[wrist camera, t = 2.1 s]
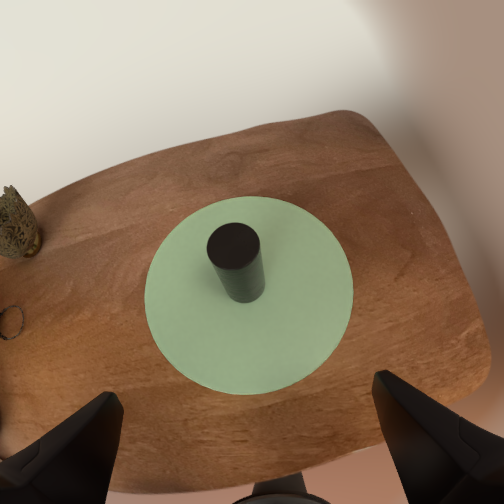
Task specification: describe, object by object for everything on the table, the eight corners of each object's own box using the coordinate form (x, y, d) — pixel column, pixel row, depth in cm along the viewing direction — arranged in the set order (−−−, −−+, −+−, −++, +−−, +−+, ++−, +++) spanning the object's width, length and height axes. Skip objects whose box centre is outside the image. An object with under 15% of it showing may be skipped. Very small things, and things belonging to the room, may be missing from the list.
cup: (15, 282, 26) (-29, 254, 19) (18, 235, 30) (-19, 204, 22) (54, 260, 27) (9, 224, 20) (55, 212, 30) (19, 174, 23)
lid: (369, 370, 15) (412, 359, 10) (157, 401, 15) (104, 402, 10) (321, 193, 21) (330, 131, 16) (151, 222, 21) (117, 170, 16)
